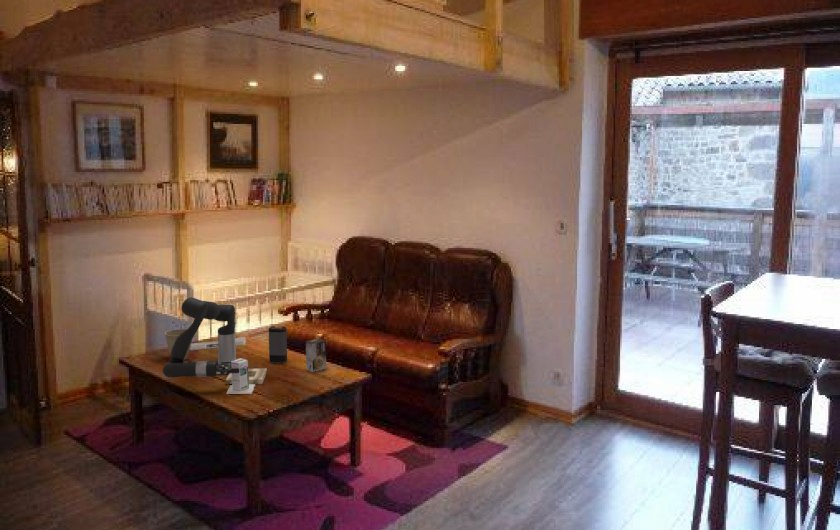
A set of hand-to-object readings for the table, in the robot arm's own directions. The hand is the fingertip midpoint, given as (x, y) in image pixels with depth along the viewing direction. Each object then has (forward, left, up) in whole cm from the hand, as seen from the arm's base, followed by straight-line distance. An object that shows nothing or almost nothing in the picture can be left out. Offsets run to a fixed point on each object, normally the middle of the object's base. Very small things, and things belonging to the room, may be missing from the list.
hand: (240, 368), depth 326 cm
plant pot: (-43, +55, -12) cm, 71 cm away
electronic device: (+13, +46, -12) cm, 49 cm away
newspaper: (-28, +82, -12) cm, 87 cm away
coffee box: (+35, +31, -12) cm, 48 cm away
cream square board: (0, +18, -11) cm, 21 cm away
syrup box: (0, 0, -11) cm, 11 cm away
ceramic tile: (0, 0, -11) cm, 12 cm away
